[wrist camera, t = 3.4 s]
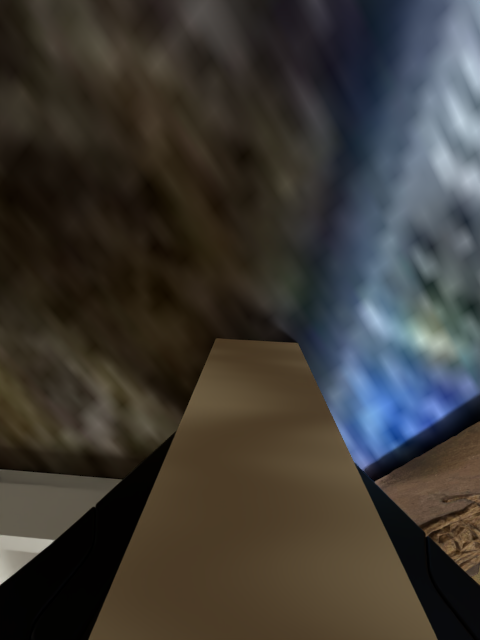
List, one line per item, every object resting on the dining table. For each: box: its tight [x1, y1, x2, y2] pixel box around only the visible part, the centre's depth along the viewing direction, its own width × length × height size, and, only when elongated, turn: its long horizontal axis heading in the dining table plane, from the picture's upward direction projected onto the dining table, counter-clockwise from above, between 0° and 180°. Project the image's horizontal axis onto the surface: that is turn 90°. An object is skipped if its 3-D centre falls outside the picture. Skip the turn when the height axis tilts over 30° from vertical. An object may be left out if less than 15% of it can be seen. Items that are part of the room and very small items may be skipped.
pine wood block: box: [88, 338, 438, 640], centre depth 6 cm, size 3×4×8 cm, turn 178°
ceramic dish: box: [0, 469, 122, 585], centre depth 12 cm, size 16×16×3 cm
